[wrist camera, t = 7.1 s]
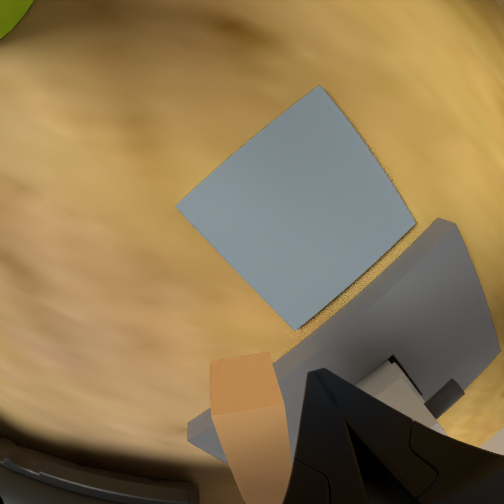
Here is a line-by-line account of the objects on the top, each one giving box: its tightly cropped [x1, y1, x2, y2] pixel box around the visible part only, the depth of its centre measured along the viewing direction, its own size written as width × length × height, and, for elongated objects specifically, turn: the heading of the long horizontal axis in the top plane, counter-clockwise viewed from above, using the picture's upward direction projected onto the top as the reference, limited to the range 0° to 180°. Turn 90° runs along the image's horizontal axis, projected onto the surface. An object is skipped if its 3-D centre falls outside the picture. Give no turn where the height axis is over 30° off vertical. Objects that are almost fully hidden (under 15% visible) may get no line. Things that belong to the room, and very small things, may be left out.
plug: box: [355, 359, 465, 436], centre depth 14 cm, size 5×6×6 cm
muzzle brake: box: [0, 437, 200, 504], centre depth 12 cm, size 10×28×10 cm
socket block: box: [187, 218, 501, 464], centre depth 14 cm, size 12×18×6 cm, turn 131°
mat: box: [175, 85, 416, 331], centre depth 14 cm, size 8×8×1 cm
